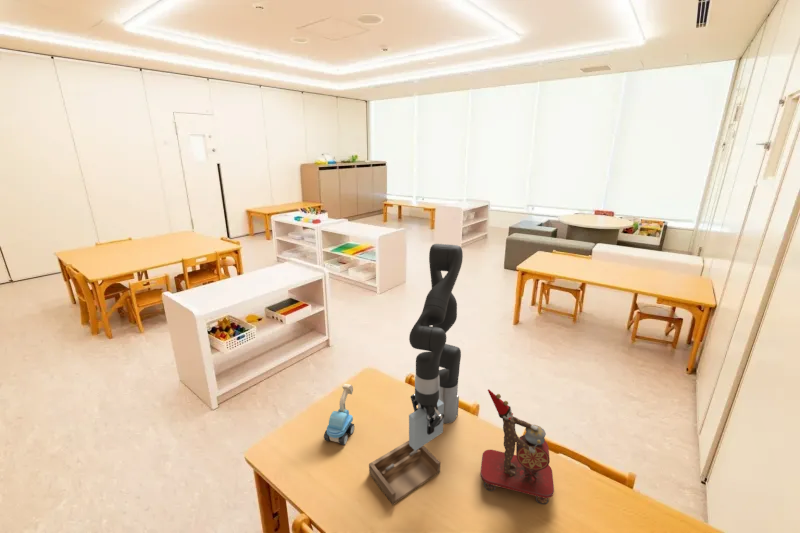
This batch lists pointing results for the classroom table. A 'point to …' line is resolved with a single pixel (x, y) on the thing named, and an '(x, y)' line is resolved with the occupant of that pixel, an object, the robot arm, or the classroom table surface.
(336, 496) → the classroom table surface
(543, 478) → the clown toy
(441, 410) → the blue-gray square slab
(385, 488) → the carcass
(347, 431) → the toy excavator
